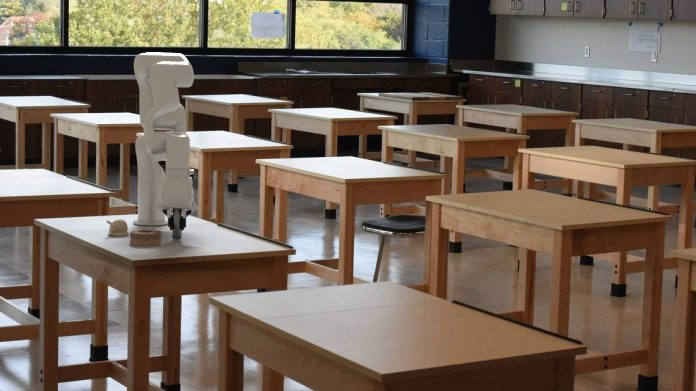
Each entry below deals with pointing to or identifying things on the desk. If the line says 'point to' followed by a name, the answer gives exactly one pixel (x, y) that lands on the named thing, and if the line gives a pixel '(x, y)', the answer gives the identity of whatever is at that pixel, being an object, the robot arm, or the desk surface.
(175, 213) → the grey square post
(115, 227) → the decorative ornament
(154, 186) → the robot arm
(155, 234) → the bead
